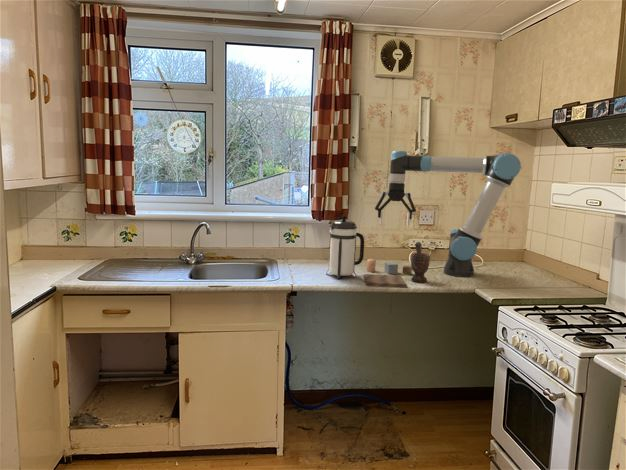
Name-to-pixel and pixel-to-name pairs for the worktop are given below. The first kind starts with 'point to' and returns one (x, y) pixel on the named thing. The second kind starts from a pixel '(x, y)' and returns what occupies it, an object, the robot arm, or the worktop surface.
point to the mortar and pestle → (419, 264)
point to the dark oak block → (407, 270)
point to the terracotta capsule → (371, 265)
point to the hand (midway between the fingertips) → (394, 225)
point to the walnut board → (384, 280)
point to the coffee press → (344, 248)
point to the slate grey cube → (391, 268)
